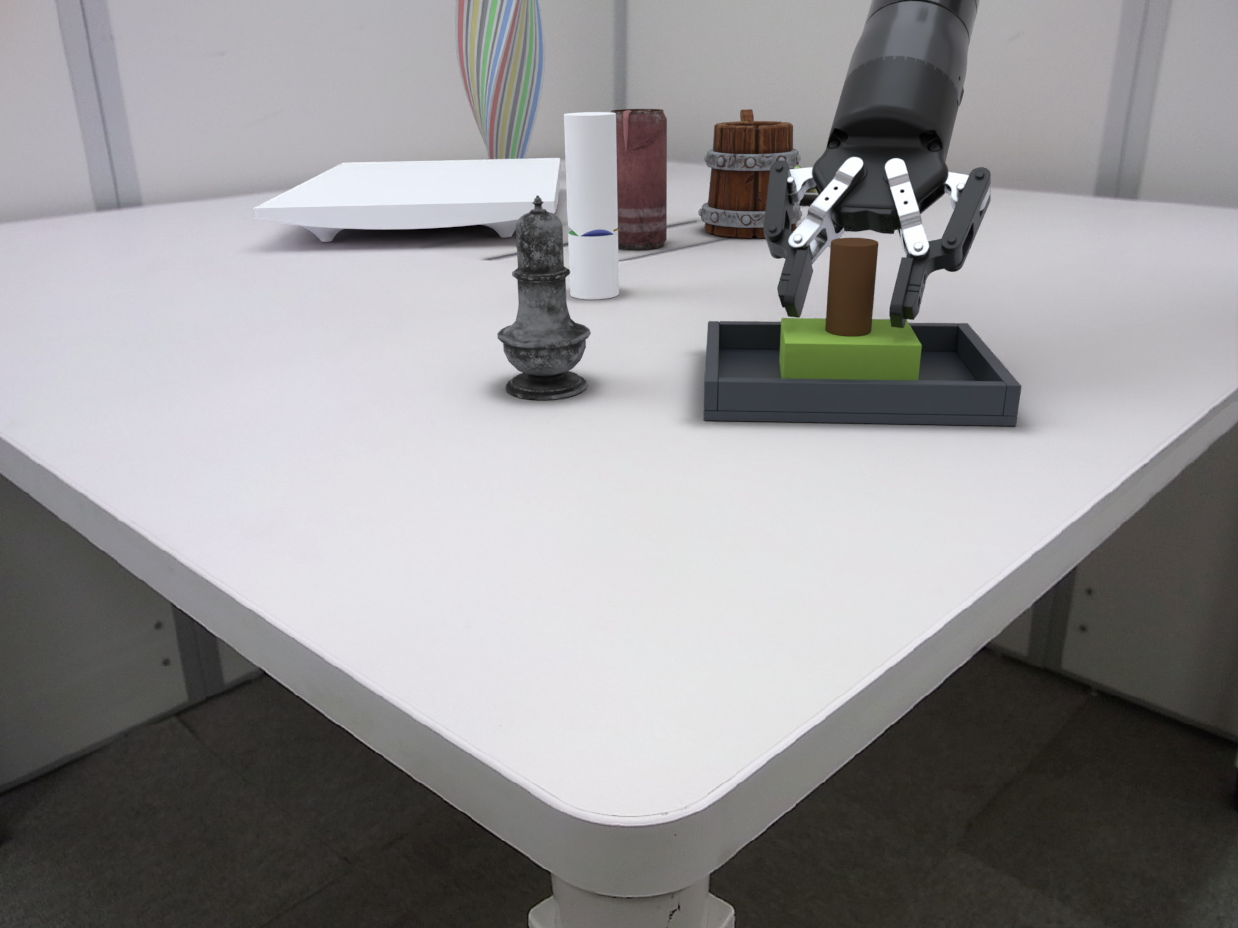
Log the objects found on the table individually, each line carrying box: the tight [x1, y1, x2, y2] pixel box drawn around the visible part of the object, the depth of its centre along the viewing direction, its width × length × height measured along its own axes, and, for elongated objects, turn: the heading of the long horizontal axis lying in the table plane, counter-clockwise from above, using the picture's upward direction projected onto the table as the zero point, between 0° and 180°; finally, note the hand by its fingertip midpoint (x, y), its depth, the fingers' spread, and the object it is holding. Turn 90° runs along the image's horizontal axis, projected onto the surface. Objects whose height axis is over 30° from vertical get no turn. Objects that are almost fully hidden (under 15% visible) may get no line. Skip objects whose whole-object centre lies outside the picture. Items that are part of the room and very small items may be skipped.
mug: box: [697, 108, 803, 239], centre depth 116 cm, size 12×14×15 cm
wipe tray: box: [703, 320, 1022, 427], centre depth 64 cm, size 18×14×2 cm
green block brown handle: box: [779, 237, 922, 380], centre depth 62 cm, size 8×6×8 cm
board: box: [252, 157, 562, 243], centre depth 130 cm, size 45×32×5 cm
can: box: [610, 108, 668, 251], centre depth 107 cm, size 6×6×14 cm
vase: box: [454, 0, 546, 159], centre depth 160 cm, size 14×14×30 cm
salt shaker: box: [497, 195, 592, 401], centre depth 63 cm, size 6×6×12 cm
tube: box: [563, 111, 620, 300], centre depth 86 cm, size 4×4×15 cm
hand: (843, 314), depth 61 cm, fingers open, 5 cm apart
